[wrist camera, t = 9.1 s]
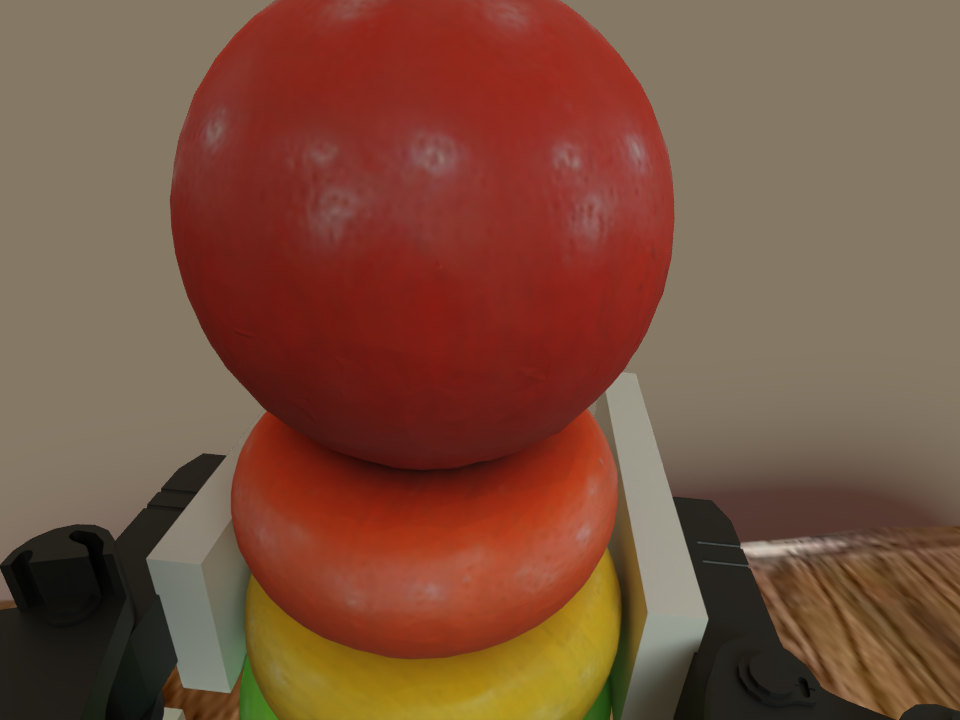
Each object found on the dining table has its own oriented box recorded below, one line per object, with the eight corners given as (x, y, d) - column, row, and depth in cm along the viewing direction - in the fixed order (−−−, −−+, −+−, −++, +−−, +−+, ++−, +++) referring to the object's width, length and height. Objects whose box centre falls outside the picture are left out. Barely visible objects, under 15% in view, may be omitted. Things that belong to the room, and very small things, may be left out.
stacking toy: (315, 716, 18) (232, -14, 9) (581, 742, 18) (746, 18, 9) (184, 1144, 11) (-646, -227, 2) (621, 1194, 11) (1511, -109, 2)
